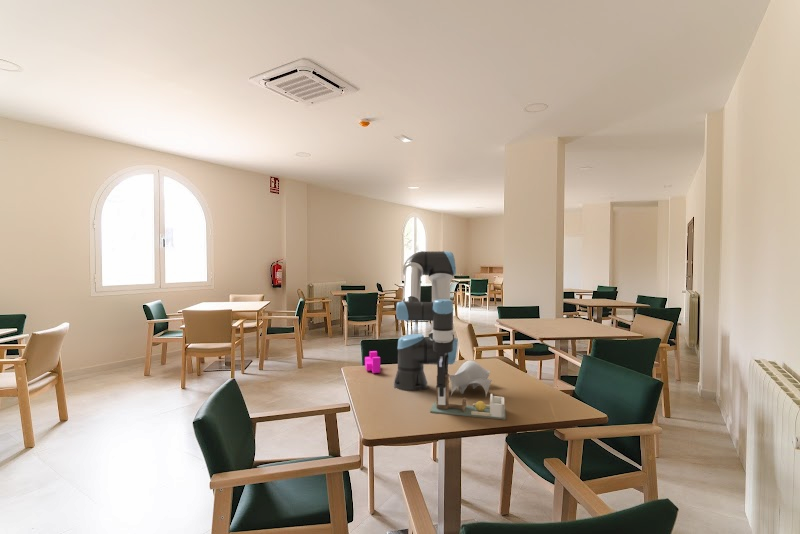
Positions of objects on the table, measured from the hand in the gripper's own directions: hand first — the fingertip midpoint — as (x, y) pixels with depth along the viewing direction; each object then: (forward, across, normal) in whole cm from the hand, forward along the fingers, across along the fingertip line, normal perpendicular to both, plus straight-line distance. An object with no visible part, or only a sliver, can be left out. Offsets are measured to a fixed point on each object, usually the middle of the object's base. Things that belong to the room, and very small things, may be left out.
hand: (442, 402), depth 150 cm
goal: (+2, 0, -20) cm, 20 cm away
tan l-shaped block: (+3, 0, 0) cm, 3 cm away
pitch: (+3, 0, -10) cm, 10 cm away
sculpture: (+3, +28, -8) cm, 30 cm away
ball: (0, 0, -14) cm, 14 cm away
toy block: (+3, +47, +43) cm, 64 cm away
